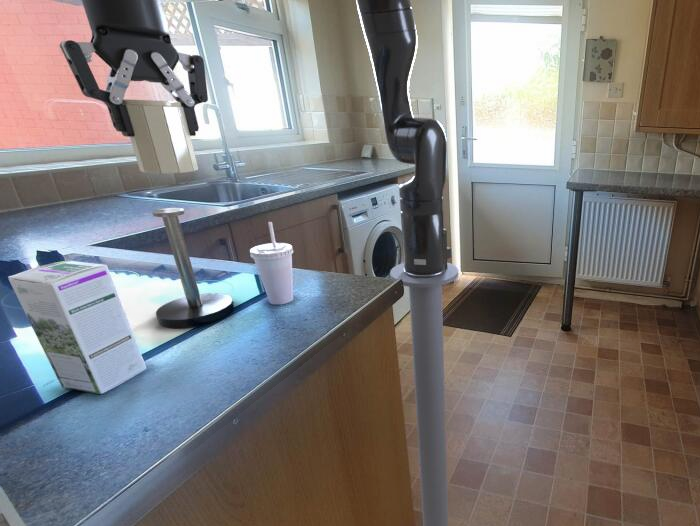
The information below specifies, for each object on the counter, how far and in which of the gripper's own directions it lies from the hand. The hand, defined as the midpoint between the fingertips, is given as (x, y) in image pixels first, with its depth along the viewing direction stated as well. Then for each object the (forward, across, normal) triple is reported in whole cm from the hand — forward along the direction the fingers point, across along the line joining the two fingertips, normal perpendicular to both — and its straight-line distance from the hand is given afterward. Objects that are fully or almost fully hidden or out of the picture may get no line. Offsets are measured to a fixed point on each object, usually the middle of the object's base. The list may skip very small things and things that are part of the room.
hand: (161, 135), depth 56 cm
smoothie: (+28, +10, -3) cm, 30 cm away
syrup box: (+28, -15, -9) cm, 33 cm away
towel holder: (+27, -1, +2) cm, 28 cm away
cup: (+5, 0, 0) cm, 5 cm away
